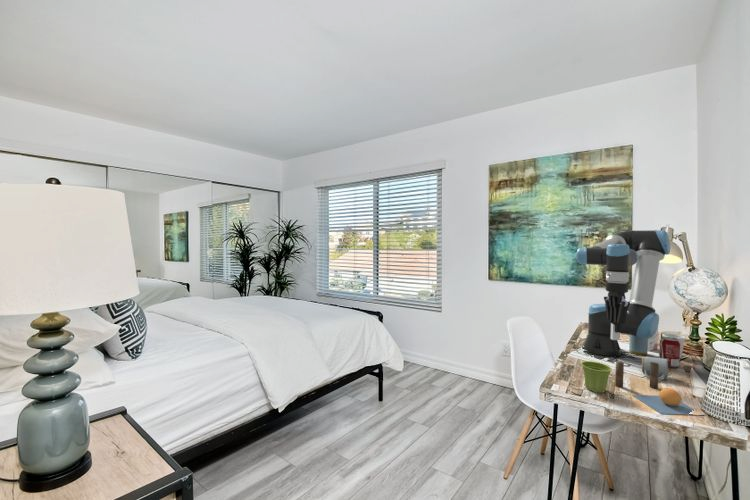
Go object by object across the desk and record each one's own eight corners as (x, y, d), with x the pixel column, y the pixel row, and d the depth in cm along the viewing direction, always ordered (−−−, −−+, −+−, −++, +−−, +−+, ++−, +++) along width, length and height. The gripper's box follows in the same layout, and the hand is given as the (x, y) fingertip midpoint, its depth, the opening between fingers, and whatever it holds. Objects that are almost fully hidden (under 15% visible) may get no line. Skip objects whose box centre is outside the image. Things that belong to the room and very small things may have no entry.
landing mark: (670, 396, 120) (670, 396, 120) (704, 415, 107) (704, 415, 107) (632, 395, 120) (632, 394, 120) (660, 414, 107) (661, 413, 107)
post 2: (654, 386, 128) (655, 362, 128) (659, 388, 126) (660, 364, 126) (647, 385, 128) (648, 362, 128) (652, 388, 126) (653, 364, 126)
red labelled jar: (683, 369, 146) (684, 341, 146) (664, 367, 147) (665, 340, 147) (672, 363, 152) (673, 336, 152) (655, 362, 154) (656, 335, 153)
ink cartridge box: (646, 346, 177) (647, 317, 177) (657, 348, 173) (658, 320, 173) (637, 348, 174) (638, 319, 173) (648, 351, 169) (649, 321, 169)
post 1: (620, 384, 129) (621, 361, 129) (624, 387, 127) (625, 363, 126) (613, 384, 129) (614, 361, 129) (617, 387, 127) (618, 363, 126)
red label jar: (682, 356, 163) (683, 335, 162) (686, 361, 155) (687, 339, 155) (660, 352, 167) (660, 332, 167) (663, 357, 160) (663, 336, 160)
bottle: (639, 350, 169) (640, 320, 169) (651, 355, 162) (652, 324, 162) (625, 350, 169) (626, 320, 169) (636, 355, 162) (637, 324, 162)
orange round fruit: (687, 408, 110) (672, 403, 116) (684, 390, 111) (670, 386, 116) (670, 408, 110) (656, 403, 116) (667, 390, 111) (654, 386, 116)
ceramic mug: (642, 370, 144) (642, 352, 143) (668, 375, 138) (668, 357, 138) (640, 378, 136) (641, 359, 135) (667, 384, 130) (668, 364, 130)
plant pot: (603, 385, 129) (604, 362, 129) (616, 396, 120) (617, 371, 119) (576, 382, 131) (577, 360, 130) (586, 393, 121) (587, 369, 121)
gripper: (597, 279, 146) (596, 334, 147) (617, 283, 133) (615, 344, 134) (616, 280, 146) (614, 335, 146) (637, 284, 133) (635, 344, 133)
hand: (615, 339), depth 140 cm, fingers closed
